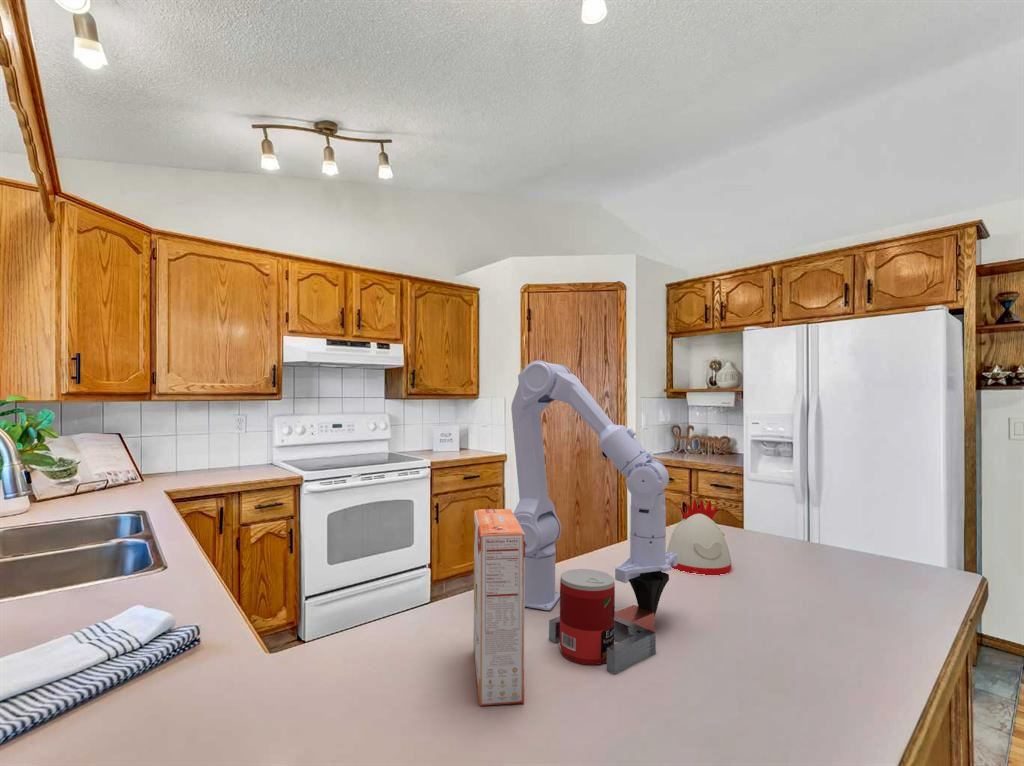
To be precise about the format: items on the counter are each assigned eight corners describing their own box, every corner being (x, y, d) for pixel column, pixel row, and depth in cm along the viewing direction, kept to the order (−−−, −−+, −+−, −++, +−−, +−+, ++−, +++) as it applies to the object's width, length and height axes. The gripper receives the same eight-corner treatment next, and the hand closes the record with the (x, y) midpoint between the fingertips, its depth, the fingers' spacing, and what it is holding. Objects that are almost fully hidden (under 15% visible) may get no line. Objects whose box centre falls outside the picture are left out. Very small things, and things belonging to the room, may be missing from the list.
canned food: (614, 669, 71) (614, 588, 72) (556, 662, 73) (557, 583, 73) (614, 643, 79) (614, 570, 79) (562, 638, 80) (562, 566, 81)
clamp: (613, 614, 89) (613, 596, 89) (678, 641, 80) (678, 621, 80) (548, 639, 80) (549, 620, 80) (614, 674, 70) (614, 651, 70)
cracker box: (470, 651, 75) (473, 507, 76) (511, 650, 76) (513, 507, 77) (475, 708, 62) (478, 531, 62) (525, 705, 62) (527, 531, 63)
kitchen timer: (741, 576, 110) (741, 506, 111) (677, 575, 110) (677, 505, 111) (716, 557, 124) (716, 494, 125) (659, 556, 124) (659, 493, 125)
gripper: (641, 546, 78) (640, 637, 78) (693, 532, 87) (693, 613, 87) (605, 536, 83) (604, 622, 83) (657, 524, 93) (657, 600, 92)
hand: (647, 616), depth 85 cm, fingers closed
